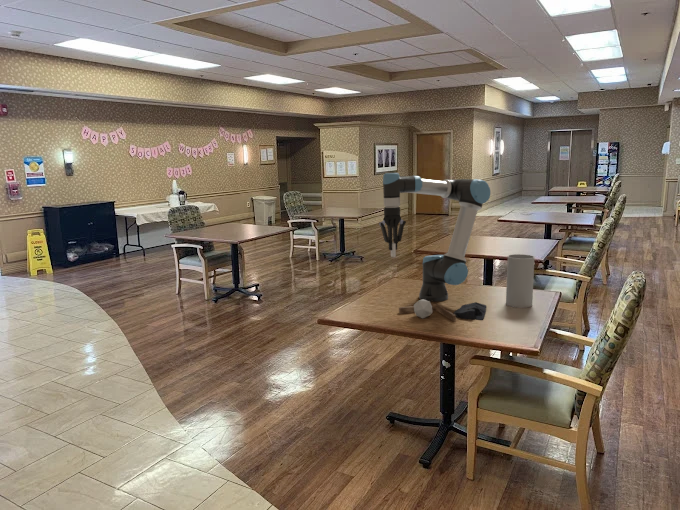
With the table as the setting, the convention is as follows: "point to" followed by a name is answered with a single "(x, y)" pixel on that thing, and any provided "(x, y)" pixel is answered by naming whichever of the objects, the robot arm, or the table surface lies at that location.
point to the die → (422, 308)
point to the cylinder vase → (520, 280)
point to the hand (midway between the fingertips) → (393, 256)
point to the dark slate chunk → (471, 311)
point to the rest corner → (434, 307)
